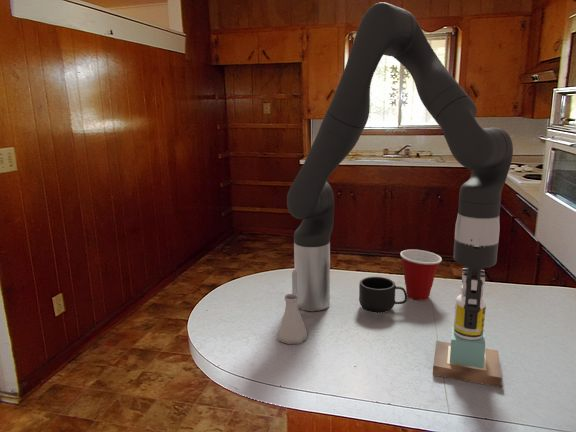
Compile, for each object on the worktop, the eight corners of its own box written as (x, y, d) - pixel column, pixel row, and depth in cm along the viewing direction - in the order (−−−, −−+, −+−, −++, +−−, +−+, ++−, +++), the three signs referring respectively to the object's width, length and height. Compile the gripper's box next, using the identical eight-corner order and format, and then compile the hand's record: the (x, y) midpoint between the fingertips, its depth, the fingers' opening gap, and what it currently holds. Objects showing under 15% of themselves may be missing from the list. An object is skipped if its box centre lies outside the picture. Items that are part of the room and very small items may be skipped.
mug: (357, 314, 112) (357, 288, 111) (360, 299, 121) (361, 275, 119) (406, 319, 109) (407, 292, 108) (406, 303, 118) (407, 278, 116)
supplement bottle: (486, 342, 84) (490, 294, 82) (455, 339, 85) (459, 292, 83) (479, 328, 90) (483, 282, 87) (451, 326, 91) (454, 281, 88)
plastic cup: (444, 305, 117) (446, 261, 114) (401, 304, 117) (403, 261, 115) (434, 288, 127) (436, 248, 124) (395, 288, 128) (397, 248, 125)
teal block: (449, 362, 87) (451, 339, 86) (450, 347, 92) (452, 325, 91) (483, 368, 85) (485, 344, 84) (482, 352, 90) (484, 329, 89)
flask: (311, 331, 104) (311, 291, 102) (302, 347, 98) (302, 305, 95) (282, 327, 107) (281, 288, 104) (271, 342, 100) (270, 301, 98)
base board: (432, 374, 87) (433, 365, 86) (435, 349, 96) (436, 340, 95) (500, 387, 82) (501, 377, 82) (497, 359, 91) (498, 349, 91)
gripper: (455, 226, 90) (450, 300, 94) (453, 247, 78) (447, 332, 81) (496, 229, 88) (489, 305, 92) (501, 251, 75) (492, 338, 79)
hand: (469, 318), depth 87 cm, fingers open, 8 cm apart
